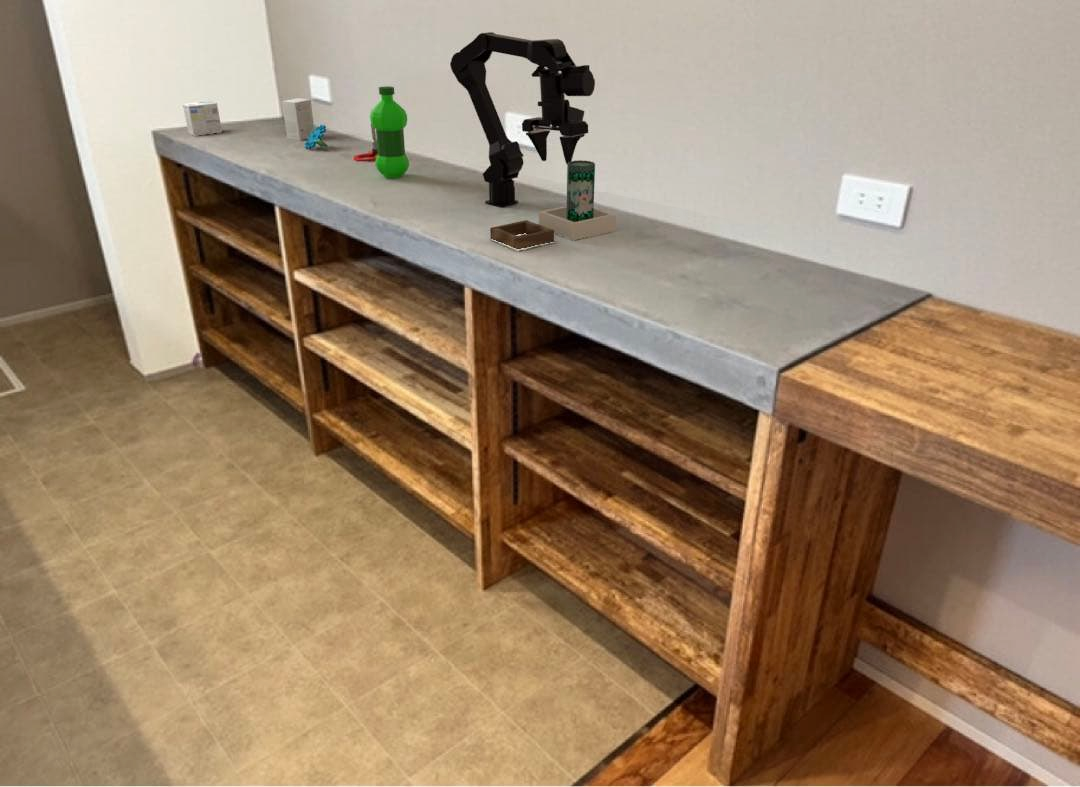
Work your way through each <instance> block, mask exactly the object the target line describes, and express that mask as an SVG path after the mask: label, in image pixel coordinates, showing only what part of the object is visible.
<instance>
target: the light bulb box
mask: <svg viewBox="0 0 1080 787" xmlns="http://www.w3.org/2000/svg"><path fill="white" fill-rule="evenodd" d="M182 107H183V113H184V117H185V122H186V127H187V133H188V135H190V134H191V135H190V136H192V135H193V136H192V137H197V136H196V135H201V136H207V135H206V134H209V135H215V134H214V133H217V134H222V133H223V128H222V125H221V120H220V119H221V118H220V113H219V112H220V111H219V107H218V103H217V102H215V101H212V100H207V101H198V102H196V101H195V102H188V103H182ZM221 132H222V133H221Z"/></svg>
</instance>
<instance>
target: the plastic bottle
mask: <svg viewBox="0 0 1080 787" xmlns="http://www.w3.org/2000/svg"><path fill="white" fill-rule="evenodd" d="M378 94H379V95H380V97H381V100H380V101H379V102H378V103H377V104H376V105H375V106H374V107H373V108H372V109H371V110H370V114H369V118H370V125H371V124H372V126H373V127H374V128H375V132H376V140H377V150H378V155H377V157H376V160H375V161H374V162H375V163H374V164H375V165H374V166H375V167H376V170H377V171H378V172H379V173H380V174H381V175H382V176H383V177H385V179H398V178H402V177H403V175H405V173H406V172H407V171H408V169H409V167H410V161H409V158H408V156H407V154H406V149H405V147H406V146H405V134H404V133H405V132H404V129H405V127H406V126H407V125H408V114H407V112H406V110H405V109H404V108H403V107H402V106H401V105H400V104H399V103H397V102H396V101H395V100H394V98H393V97H394V95H395V87H394V86H387V85H385V86H380V87H379V86H378Z"/></svg>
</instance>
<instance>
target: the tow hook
mask: <svg viewBox="0 0 1080 787" xmlns="http://www.w3.org/2000/svg"><path fill="white" fill-rule="evenodd" d="M370 129H371V136H372V141H371V142H372V148H371V150H369V151H368V152H366V153H359V154H357V155H354V156H353V161H355V160H356V161H355V162H359V161H370V162H375V160H376V157H377V155H378V150H377V138H376V129H375V128H374V127H373V126H372V124H371V123H370ZM366 157H367V158H366Z"/></svg>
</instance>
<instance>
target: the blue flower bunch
mask: <svg viewBox="0 0 1080 787" xmlns="http://www.w3.org/2000/svg"><path fill="white" fill-rule="evenodd" d="M326 132H327V126H326V125H325V124H320V125H319V126H316V127H314V131H312V132H311V137H310V136H308V138H307V139H306V140H305V142H304V148H305V149H306V150H308V151H310V150H311V149H314V148H315V147H316V145H318V146H319V147H320V148H321V147H322V148H324V149H325V150H326V151H328V150H329V148H328V144H327V143H326V142H324V141H323V138H324V136H325V133H326Z"/></svg>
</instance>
